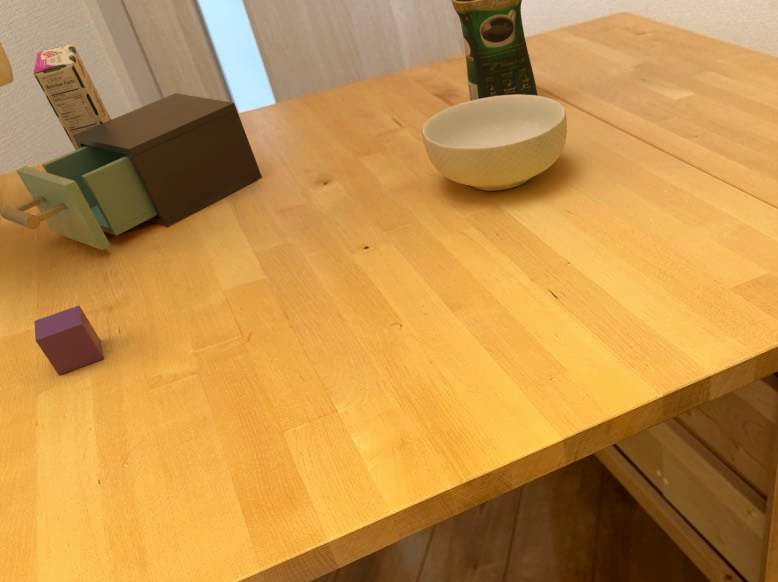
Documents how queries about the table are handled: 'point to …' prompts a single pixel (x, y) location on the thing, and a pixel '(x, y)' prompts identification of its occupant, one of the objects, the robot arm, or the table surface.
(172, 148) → the brown drawer cabinet
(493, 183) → the cereal bowl
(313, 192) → the table surface
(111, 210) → the light green drawer
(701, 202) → the table surface
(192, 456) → the table surface
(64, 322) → the maroon wooden cube
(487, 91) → the green coffee bag
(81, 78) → the candy bar box
